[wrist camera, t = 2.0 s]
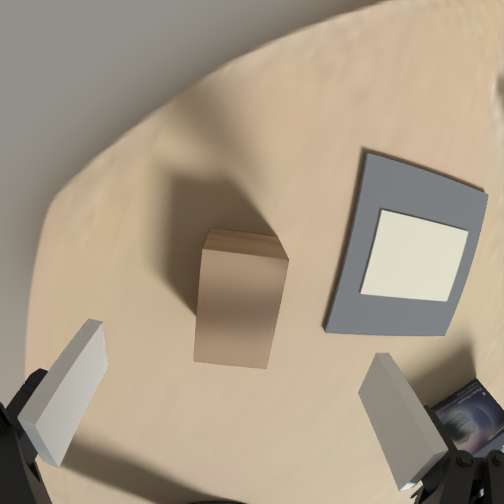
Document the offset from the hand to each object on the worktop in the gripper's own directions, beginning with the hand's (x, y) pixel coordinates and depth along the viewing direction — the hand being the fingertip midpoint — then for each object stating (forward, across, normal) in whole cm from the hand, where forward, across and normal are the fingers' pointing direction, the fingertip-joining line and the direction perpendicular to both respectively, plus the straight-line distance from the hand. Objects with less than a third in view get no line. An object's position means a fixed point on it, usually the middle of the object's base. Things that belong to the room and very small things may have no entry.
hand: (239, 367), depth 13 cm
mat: (+11, -15, -4) cm, 19 cm away
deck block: (+11, 0, 0) cm, 11 cm away
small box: (+11, -31, +16) cm, 37 cm away
